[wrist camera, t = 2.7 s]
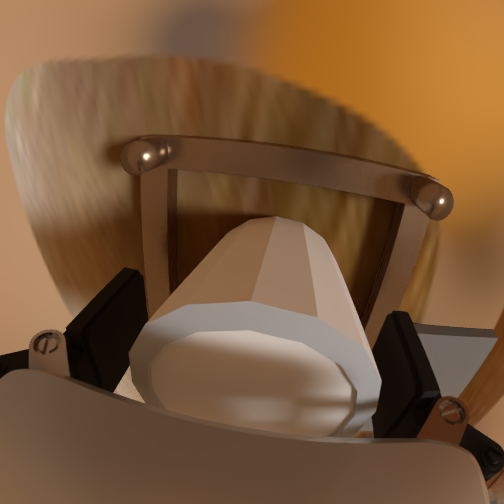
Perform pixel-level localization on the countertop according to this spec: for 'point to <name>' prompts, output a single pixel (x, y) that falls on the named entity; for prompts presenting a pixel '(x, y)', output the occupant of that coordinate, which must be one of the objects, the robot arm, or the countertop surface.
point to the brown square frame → (290, 170)
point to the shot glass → (261, 338)
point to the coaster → (452, 356)
